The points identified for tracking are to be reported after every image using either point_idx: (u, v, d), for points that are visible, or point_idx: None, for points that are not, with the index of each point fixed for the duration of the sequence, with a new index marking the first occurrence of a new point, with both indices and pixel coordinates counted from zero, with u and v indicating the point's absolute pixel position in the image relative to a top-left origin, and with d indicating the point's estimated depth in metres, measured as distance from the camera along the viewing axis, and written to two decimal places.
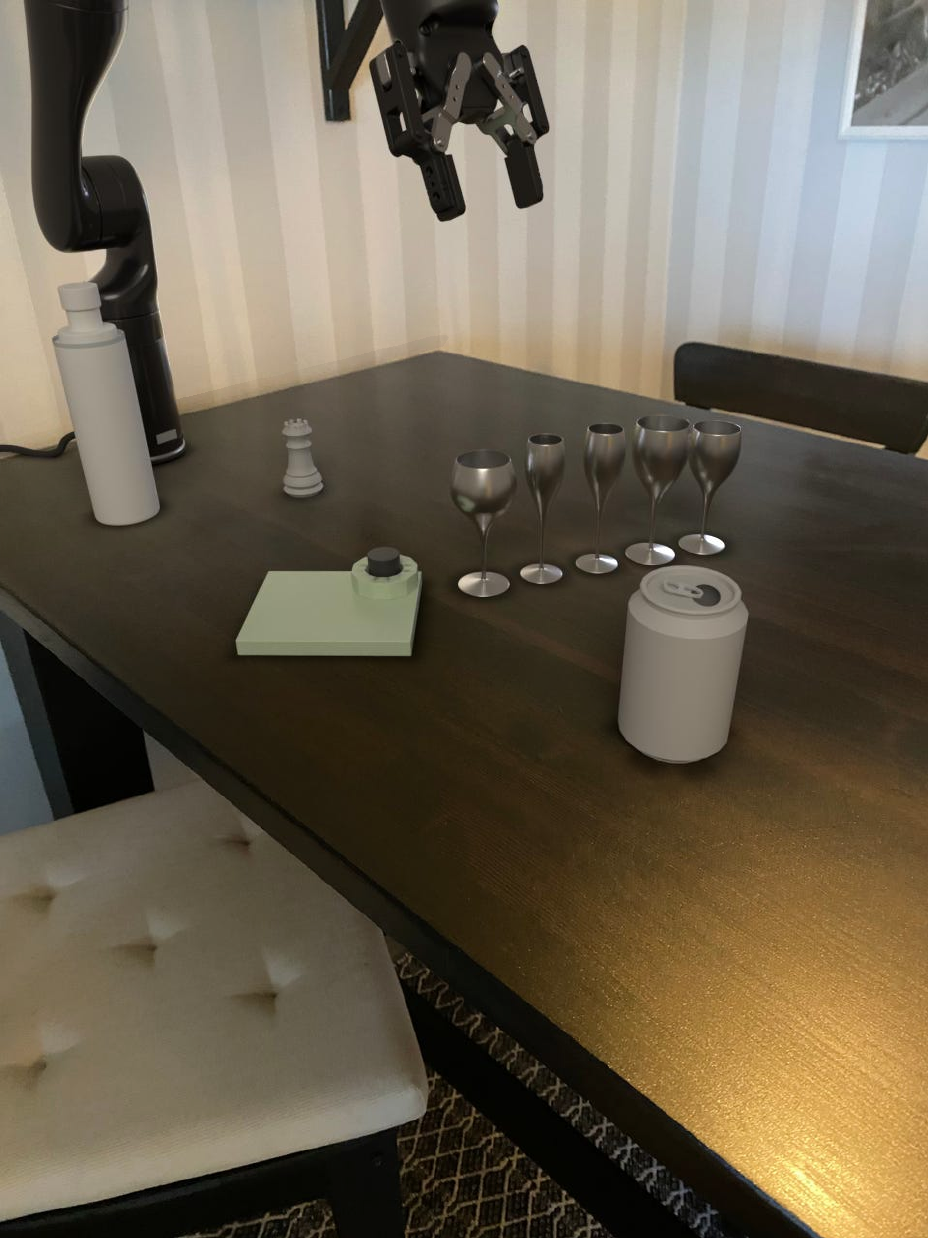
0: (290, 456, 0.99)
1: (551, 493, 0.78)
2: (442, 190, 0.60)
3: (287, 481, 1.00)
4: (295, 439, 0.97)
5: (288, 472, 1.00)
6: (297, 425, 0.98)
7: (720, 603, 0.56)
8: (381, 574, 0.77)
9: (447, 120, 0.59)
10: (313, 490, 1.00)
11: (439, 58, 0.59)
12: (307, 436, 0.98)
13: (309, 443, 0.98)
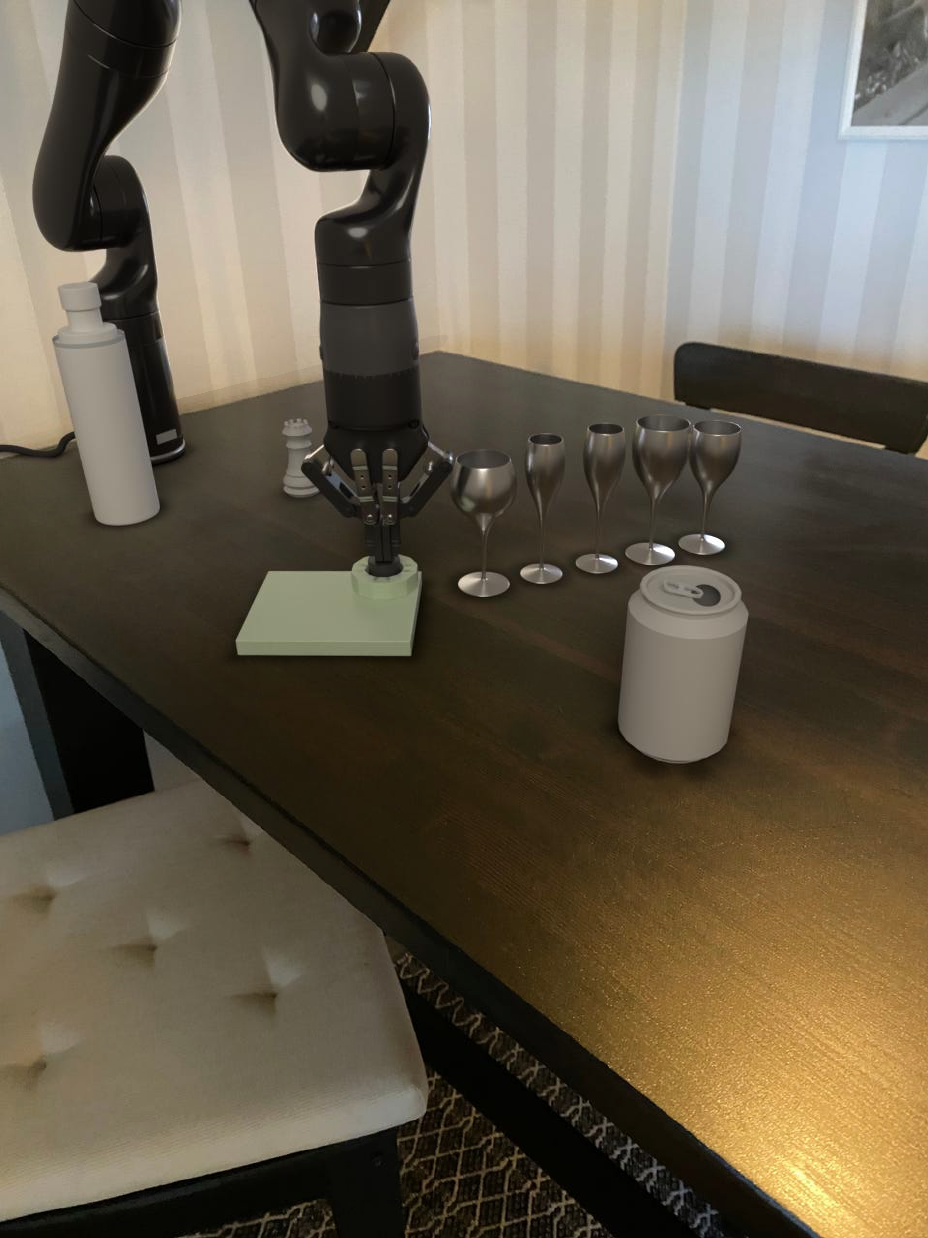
0: (290, 456, 0.99)
1: (551, 493, 0.78)
2: (367, 544, 0.77)
3: (287, 482, 1.00)
4: (295, 439, 0.97)
5: (288, 472, 1.00)
6: (297, 425, 0.98)
7: (720, 603, 0.56)
8: None
9: (367, 500, 0.74)
10: (313, 490, 1.00)
11: (341, 446, 0.72)
12: (307, 436, 0.98)
13: (309, 443, 0.98)
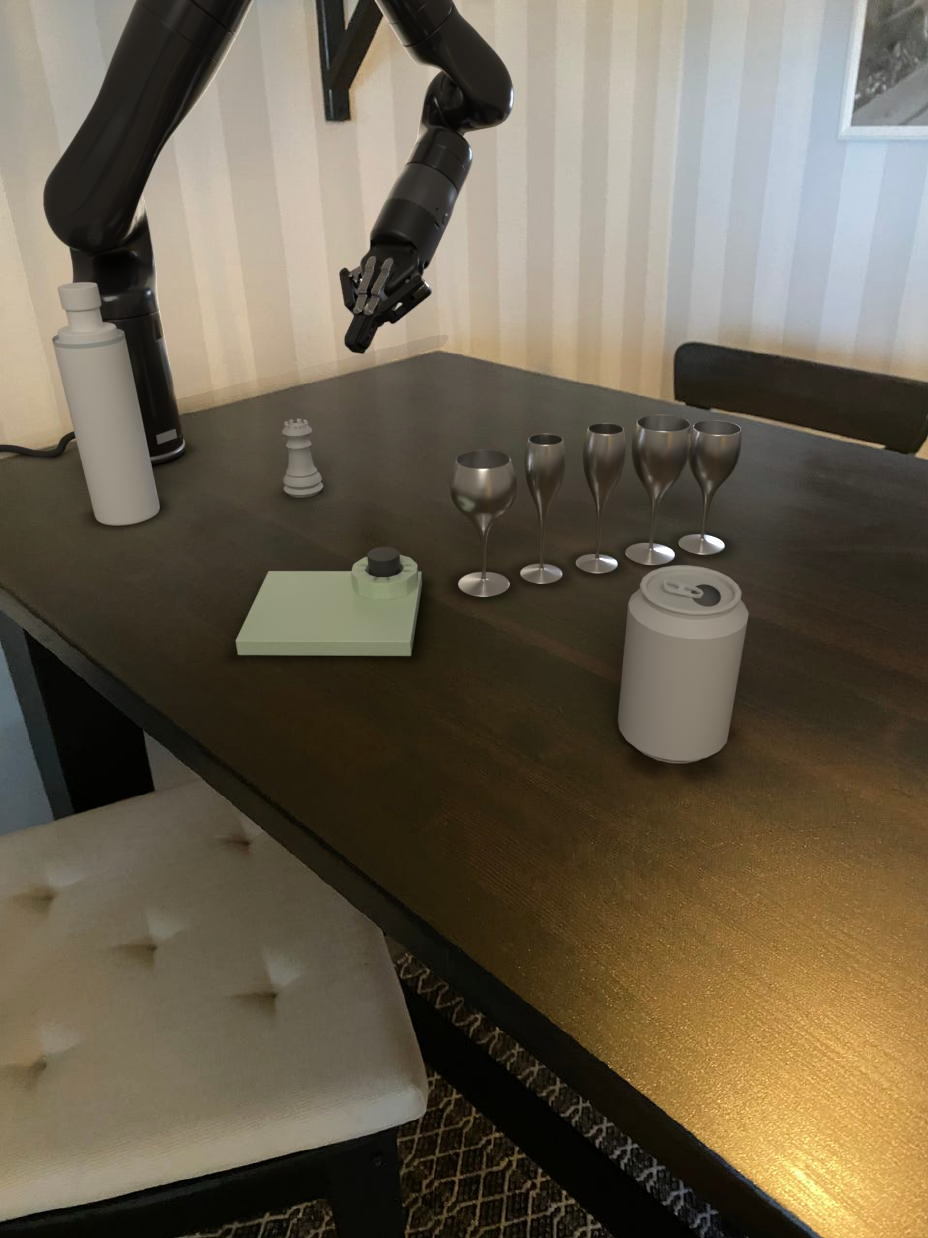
0: (290, 456, 0.99)
1: (551, 493, 0.78)
2: (370, 340, 1.02)
3: (287, 482, 1.00)
4: (295, 439, 0.97)
5: (288, 472, 1.00)
6: (297, 425, 0.98)
7: (720, 603, 0.56)
8: (381, 574, 0.77)
9: None
10: (313, 490, 1.00)
11: None
12: (307, 436, 0.98)
13: (309, 443, 0.98)
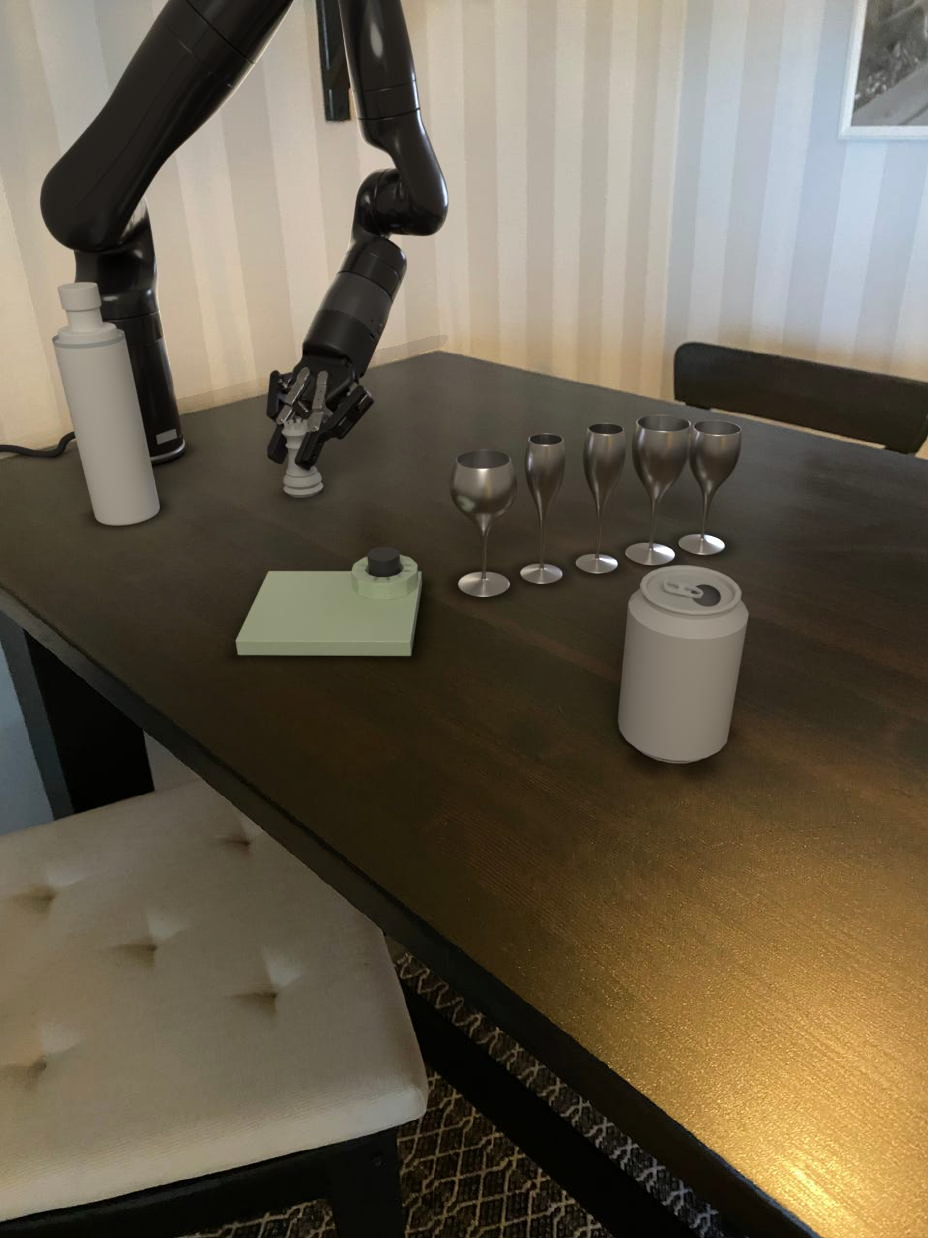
0: (290, 456, 0.99)
1: (551, 493, 0.78)
2: (316, 457, 0.98)
3: (287, 482, 1.00)
4: (295, 439, 0.97)
5: (288, 472, 1.00)
6: (297, 425, 0.98)
7: (720, 603, 0.56)
8: (381, 574, 0.77)
9: None
10: (313, 490, 1.00)
11: None
12: None
13: None
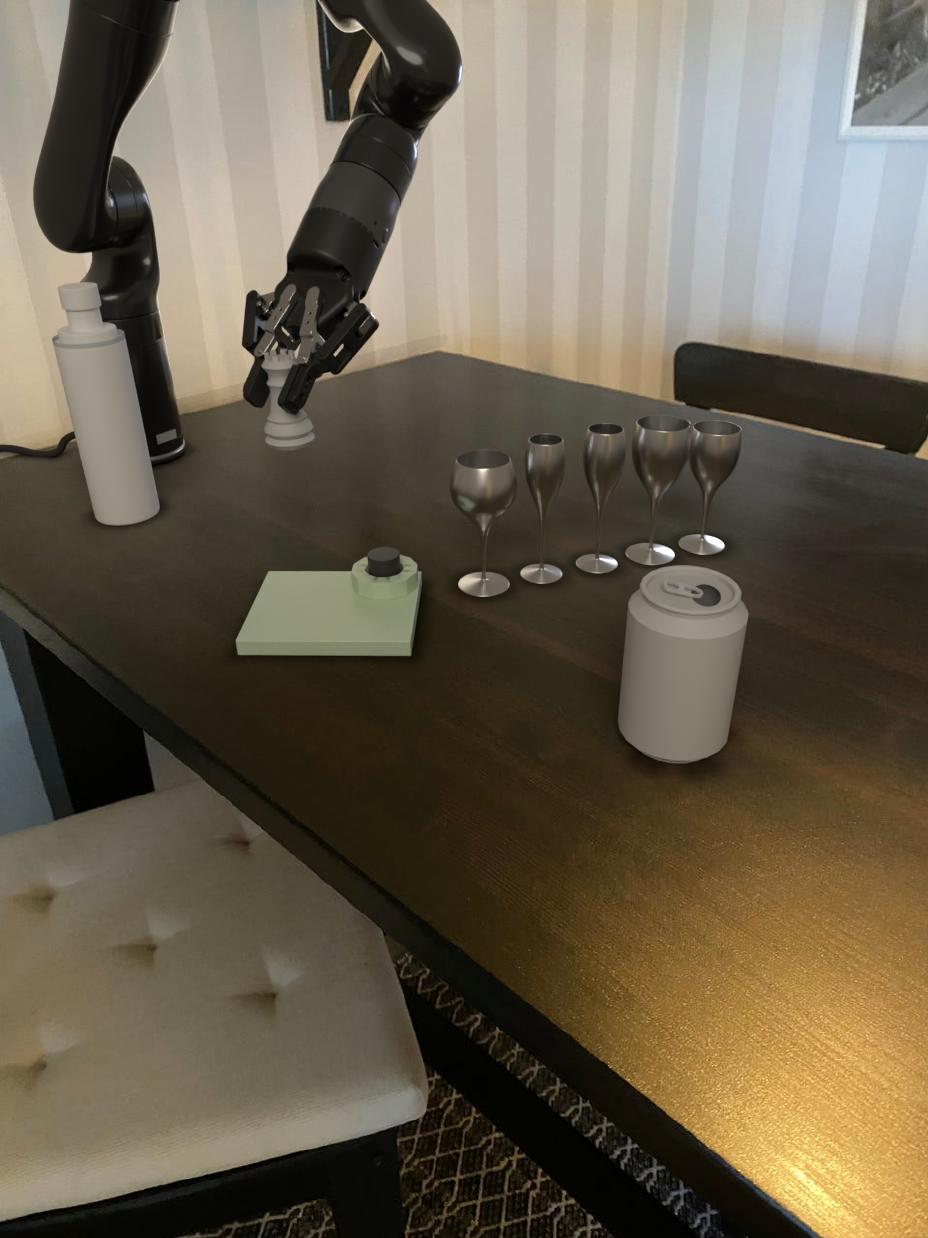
0: (272, 397, 0.77)
1: (551, 493, 0.78)
2: (305, 397, 0.76)
3: (268, 430, 0.78)
4: (278, 374, 0.76)
5: (270, 418, 0.78)
6: (280, 356, 0.76)
7: (720, 603, 0.56)
8: (381, 574, 0.77)
9: None
10: (302, 441, 0.79)
11: None
12: None
13: None
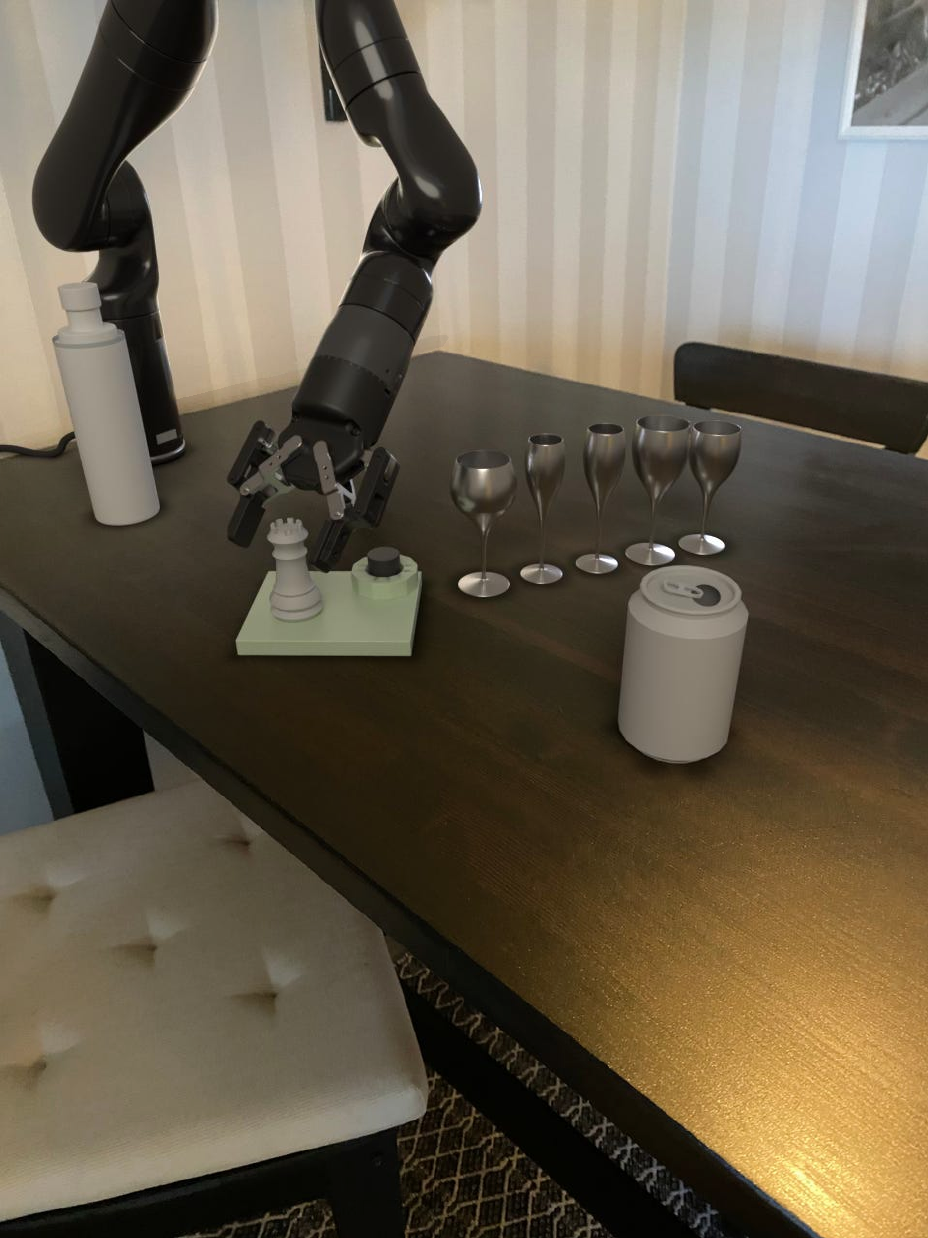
0: (278, 569, 0.73)
1: (551, 493, 0.78)
2: (339, 555, 0.70)
3: (274, 602, 0.73)
4: (285, 548, 0.71)
5: (276, 589, 0.73)
6: (288, 528, 0.71)
7: (720, 603, 0.56)
8: (381, 574, 0.77)
9: None
10: (310, 613, 0.74)
11: None
12: (301, 543, 0.72)
13: (304, 552, 0.72)
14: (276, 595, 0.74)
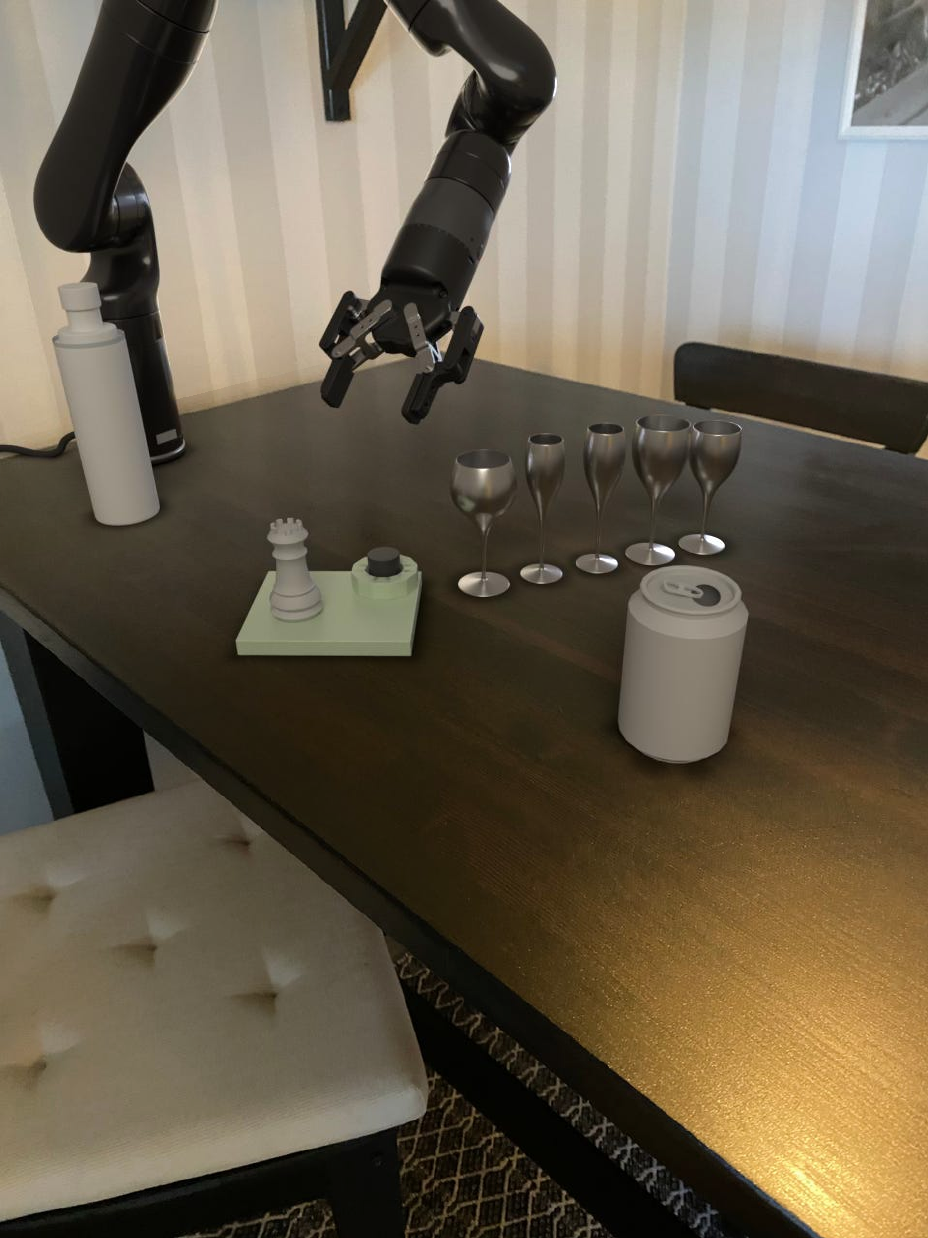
0: (278, 569, 0.73)
1: (551, 493, 0.78)
2: (428, 407, 0.75)
3: (274, 602, 0.73)
4: (285, 548, 0.71)
5: (276, 589, 0.73)
6: (288, 528, 0.71)
7: (720, 603, 0.56)
8: (381, 574, 0.77)
9: None
10: (310, 613, 0.74)
11: None
12: (301, 543, 0.72)
13: (303, 552, 0.72)
14: (276, 595, 0.74)
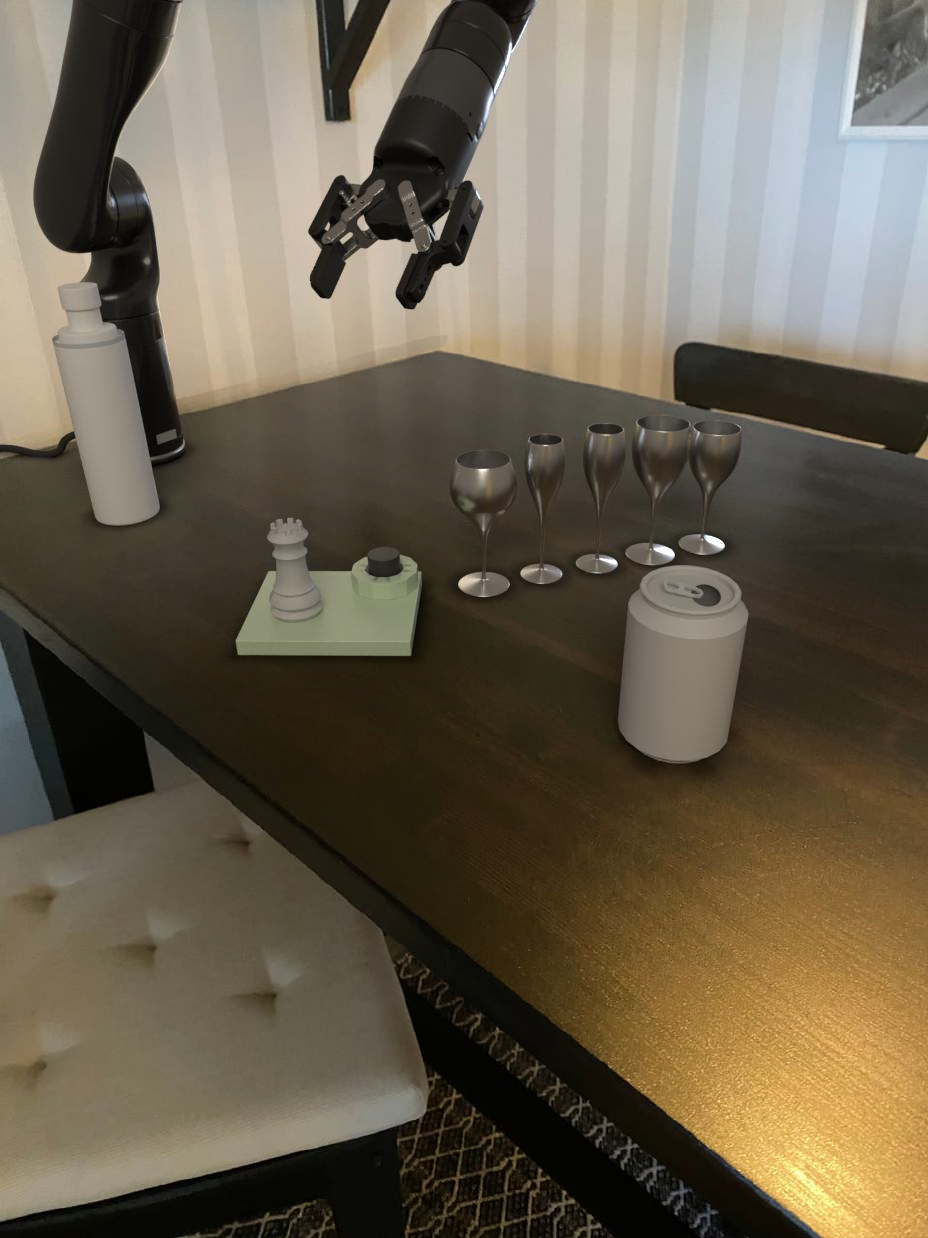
0: (278, 569, 0.73)
1: (551, 493, 0.78)
2: None
3: (274, 602, 0.73)
4: (285, 548, 0.71)
5: (276, 589, 0.73)
6: (287, 528, 0.71)
7: (720, 603, 0.56)
8: (381, 574, 0.77)
9: None
10: (310, 613, 0.74)
11: None
12: (301, 543, 0.72)
13: (303, 552, 0.72)
14: (276, 595, 0.74)
